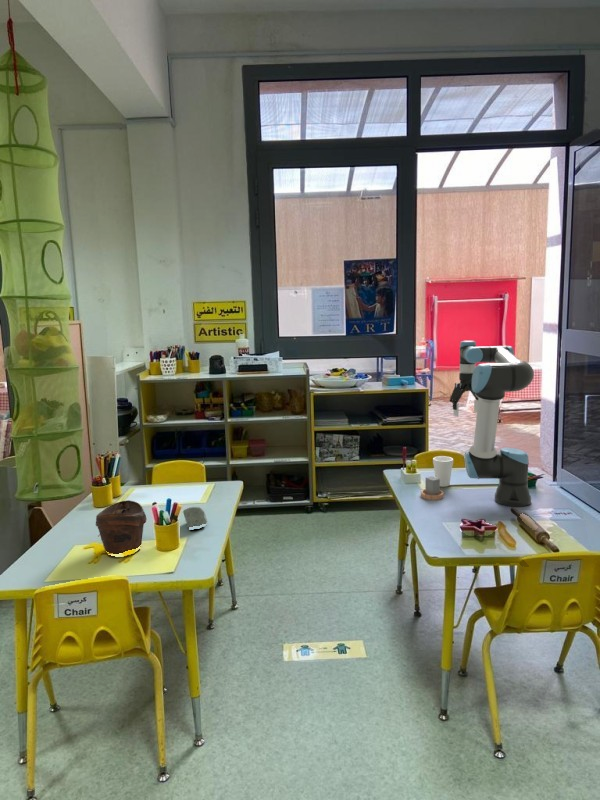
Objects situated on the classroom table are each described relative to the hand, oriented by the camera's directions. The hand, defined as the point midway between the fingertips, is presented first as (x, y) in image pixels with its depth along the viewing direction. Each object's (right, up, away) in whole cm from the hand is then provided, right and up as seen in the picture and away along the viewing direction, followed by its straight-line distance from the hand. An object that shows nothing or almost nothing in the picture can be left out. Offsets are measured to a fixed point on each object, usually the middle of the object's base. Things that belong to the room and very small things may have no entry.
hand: (466, 414), depth 278 cm
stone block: (-22, -36, -23) cm, 48 cm away
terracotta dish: (-22, -37, -23) cm, 49 cm away
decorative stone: (-126, -45, -49) cm, 142 cm away
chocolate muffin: (-149, -49, -69) cm, 172 cm away
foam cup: (-14, -34, -7) cm, 37 cm away
